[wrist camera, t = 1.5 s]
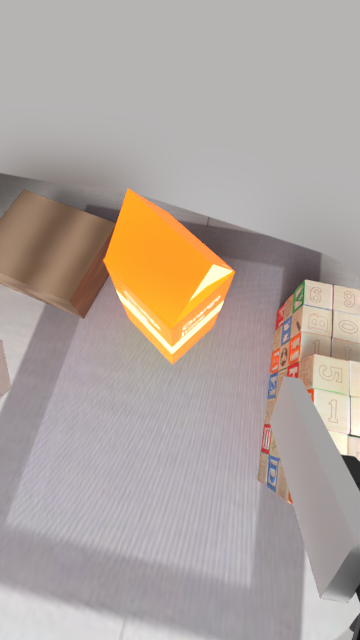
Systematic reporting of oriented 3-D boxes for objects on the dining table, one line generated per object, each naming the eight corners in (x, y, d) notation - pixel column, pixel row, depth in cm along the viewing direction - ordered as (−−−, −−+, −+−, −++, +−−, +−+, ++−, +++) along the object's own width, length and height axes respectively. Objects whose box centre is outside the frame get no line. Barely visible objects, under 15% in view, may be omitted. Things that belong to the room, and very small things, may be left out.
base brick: (-3, 282, 40) (-33, 259, 34) (43, 219, 44) (23, 189, 38) (84, 319, 38) (68, 301, 32) (124, 250, 42) (116, 223, 36)
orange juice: (172, 365, 36) (169, 303, 17) (127, 318, 38) (81, 216, 19) (214, 325, 38) (254, 230, 19) (170, 283, 40) (166, 158, 21)
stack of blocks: (275, 310, 39) (318, 262, 27) (321, 319, 38) (384, 275, 27) (256, 481, 32) (304, 515, 20) (312, 494, 31) (393, 537, 20)
